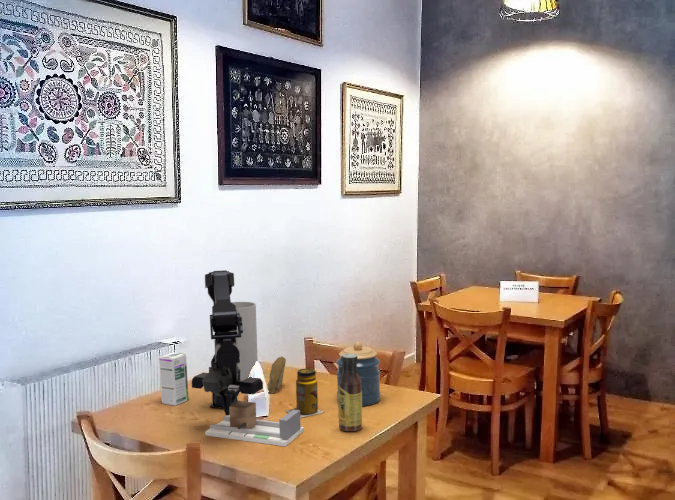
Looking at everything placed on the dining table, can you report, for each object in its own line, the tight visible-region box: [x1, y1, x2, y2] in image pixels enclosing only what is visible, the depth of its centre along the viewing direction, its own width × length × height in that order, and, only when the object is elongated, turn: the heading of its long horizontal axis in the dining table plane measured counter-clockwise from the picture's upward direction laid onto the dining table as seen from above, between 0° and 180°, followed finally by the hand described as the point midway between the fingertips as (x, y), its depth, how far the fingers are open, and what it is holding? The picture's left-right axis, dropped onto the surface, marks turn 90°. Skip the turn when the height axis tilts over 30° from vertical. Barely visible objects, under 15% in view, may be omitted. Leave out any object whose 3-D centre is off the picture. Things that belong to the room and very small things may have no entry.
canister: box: [336, 341, 381, 407], centre depth 197 cm, size 13×13×18 cm
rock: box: [267, 356, 287, 394], centre depth 210 cm, size 11×9×10 cm
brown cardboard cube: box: [229, 400, 257, 429], centre depth 171 cm, size 5×8×6 cm, turn 158°
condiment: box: [285, 368, 324, 419], centre depth 187 cm, size 7×8×12 cm
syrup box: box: [158, 352, 189, 407], centre depth 198 cm, size 6×6×14 cm
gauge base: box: [204, 409, 305, 447], centre depth 172 cm, size 23×11×6 cm, turn 68°
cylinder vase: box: [230, 301, 258, 381], centre depth 222 cm, size 12×12×25 cm
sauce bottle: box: [337, 353, 363, 432], centre depth 173 cm, size 6×6×20 cm
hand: (228, 414), depth 175 cm, fingers closed
